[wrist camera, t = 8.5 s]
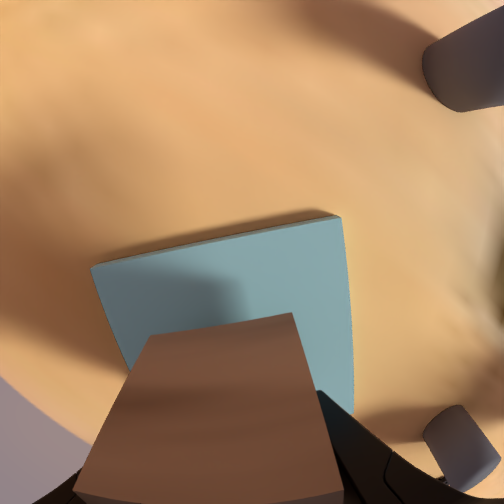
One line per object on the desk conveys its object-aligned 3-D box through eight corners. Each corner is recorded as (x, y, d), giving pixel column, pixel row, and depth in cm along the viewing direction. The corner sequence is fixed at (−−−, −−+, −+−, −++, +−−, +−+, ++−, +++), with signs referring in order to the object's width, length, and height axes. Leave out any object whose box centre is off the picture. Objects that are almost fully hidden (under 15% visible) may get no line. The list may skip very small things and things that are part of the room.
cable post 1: (484, 113, 9) (567, 104, 4) (433, 111, 9) (524, 92, 4) (466, 47, 8) (538, 18, 3) (412, 39, 8) (486, -8, 4)
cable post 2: (458, 429, 14) (489, 476, 9) (419, 447, 14) (447, 501, 9) (469, 397, 13) (508, 447, 8) (427, 417, 13) (463, 476, 8)
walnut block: (307, 414, 10) (338, 554, 4) (191, 429, 10) (168, 562, 4) (291, 311, 9) (343, 489, 3) (150, 335, 9) (72, 489, 3)
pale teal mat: (350, 405, 12) (353, 413, 12) (168, 431, 13) (166, 439, 12) (335, 215, 10) (341, 217, 10) (96, 264, 10) (89, 268, 10)
